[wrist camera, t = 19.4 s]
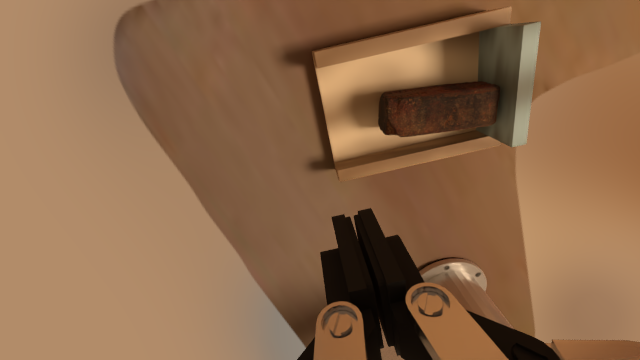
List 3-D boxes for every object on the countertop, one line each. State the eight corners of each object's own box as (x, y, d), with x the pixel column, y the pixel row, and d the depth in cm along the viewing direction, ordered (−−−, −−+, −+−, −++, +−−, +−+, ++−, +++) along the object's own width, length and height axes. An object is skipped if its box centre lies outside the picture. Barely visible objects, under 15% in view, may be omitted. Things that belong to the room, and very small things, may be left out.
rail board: (481, 135, 35) (524, 157, 28) (335, 169, 35) (345, 197, 28) (486, 10, 29) (543, 1, 22) (311, 51, 29) (317, 53, 22)
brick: (474, 78, 30) (504, 84, 26) (470, 115, 32) (497, 126, 28) (375, 91, 30) (389, 99, 26) (376, 128, 32) (389, 141, 28)
